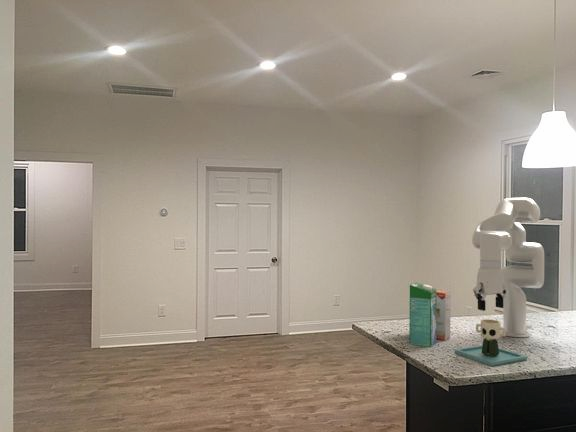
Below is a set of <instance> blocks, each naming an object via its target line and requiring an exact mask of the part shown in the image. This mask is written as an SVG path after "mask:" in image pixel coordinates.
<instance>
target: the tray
mask: <svg viewBox="0 0 576 432" xmlns="http://www.w3.org/2000/svg"><path fill="white" fill-rule="evenodd" d="M482 345H483V344H481V345H475V346H469V347H468V346H467V347H462V348H455V349H454V354H456V355H458V356H461V355H462V357H463V358H464V357H465V358H467V359H470V360H473V361H475V362H479V363H482V364H484V365H487V366H491V367H499V366H504V365H509V364H514V363H515V364H516V363H519V362H525V361H528V356H527V355H524V354H522V353H518V352H514V351H510V350H507V349H504V348H501V347H499V354H498V355H496V356H491V355H489V353H487V355H485V354H483V353H482Z"/></svg>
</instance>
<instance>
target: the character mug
mask: <svg viewBox="0 0 576 432" xmlns="http://www.w3.org/2000/svg"><path fill="white" fill-rule="evenodd" d="M501 323H502V322H501V321H500V320H496V319H490V318H488V319H487V318H485V319H484V318H483V319H480V323H475V332H476V333H480V336H481V338H483V340H482V344H481V345H482V353H483V354H485V355H487V353H489V355H491V356H496V355H498V354H499V348H500V347H499V342H498V339H500V338H501V337H506V329H505V328H503V326H502V327H501ZM479 327H480V329H479ZM501 330H503V334H502V333H500V331H501Z"/></svg>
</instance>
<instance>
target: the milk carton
mask: <svg viewBox="0 0 576 432" xmlns="http://www.w3.org/2000/svg"><path fill="white" fill-rule="evenodd" d="M436 313H437V289H436V288H434V287H433V286H432V285H428V284H426V283H425V284H421V283H419V282H415V283H412V284H410V285H409V331H408V332H409V337H408V338H409V339H408V341H409V344H410V345H416V346H423V347H429V348H431V347H432V346H434V345H435V344H436V343H437V339H436Z"/></svg>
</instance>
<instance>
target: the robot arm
mask: <svg viewBox="0 0 576 432" xmlns="http://www.w3.org/2000/svg"><path fill="white" fill-rule="evenodd" d="M540 218H541V209H540V207H539V205H538V204H537V203H536V201H534V200H533V199H532V198H529V197H510V198H509V197H508V198H504V199H501V200H500V201H499V202H498V204H497V207H496V208H495V211H494V214H493V215H492V216H490V217H488V218H486V219H484V220H482V221H480V222H479V223H478V224H477V226H476V227H475V230H474V232H473V234H472V239H471V240H472V245H473V247H474V248H475V249H478V250H479V268H478V270H477V274H476V286H475V287H474V288H473V289H472V290H473V294H474V296H475V299H476V300H477V310H479V311H482V312H484V311H486V308H487V307H486V298H487V296H490V295H491V296H492V295H495V307H496V308H501V309H502V310H503V311H502V312H503V313H502V319H503V320H502V321H503V322H502V325H503V326H502V327H503V328H505V329H506V335H505V337H511V338H512V337H513V338H529V337H531V333H530V332H529V331H528V330H532V329H533V325H532V324H527V295H526V294H525V292H524V290H522V288H530V289H541V288H542V287H543V286H544V282H545V250H544V247H543V245H542V244H541V243H538V242H527V240H526V239H527V238H526V237H527V232H526V229H525V228H524V226H523V225H522V224H534V223H538V221H539V220H540ZM502 251H504V255H505V259H506V261H507V262H510V263H514V264H515V263H516V264H531V265H532V266H525V265H524V266H523V265H513V264H512V265H506V266H504V267H503V268H502ZM500 333H502V334H503V330H501V331H500Z"/></svg>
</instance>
